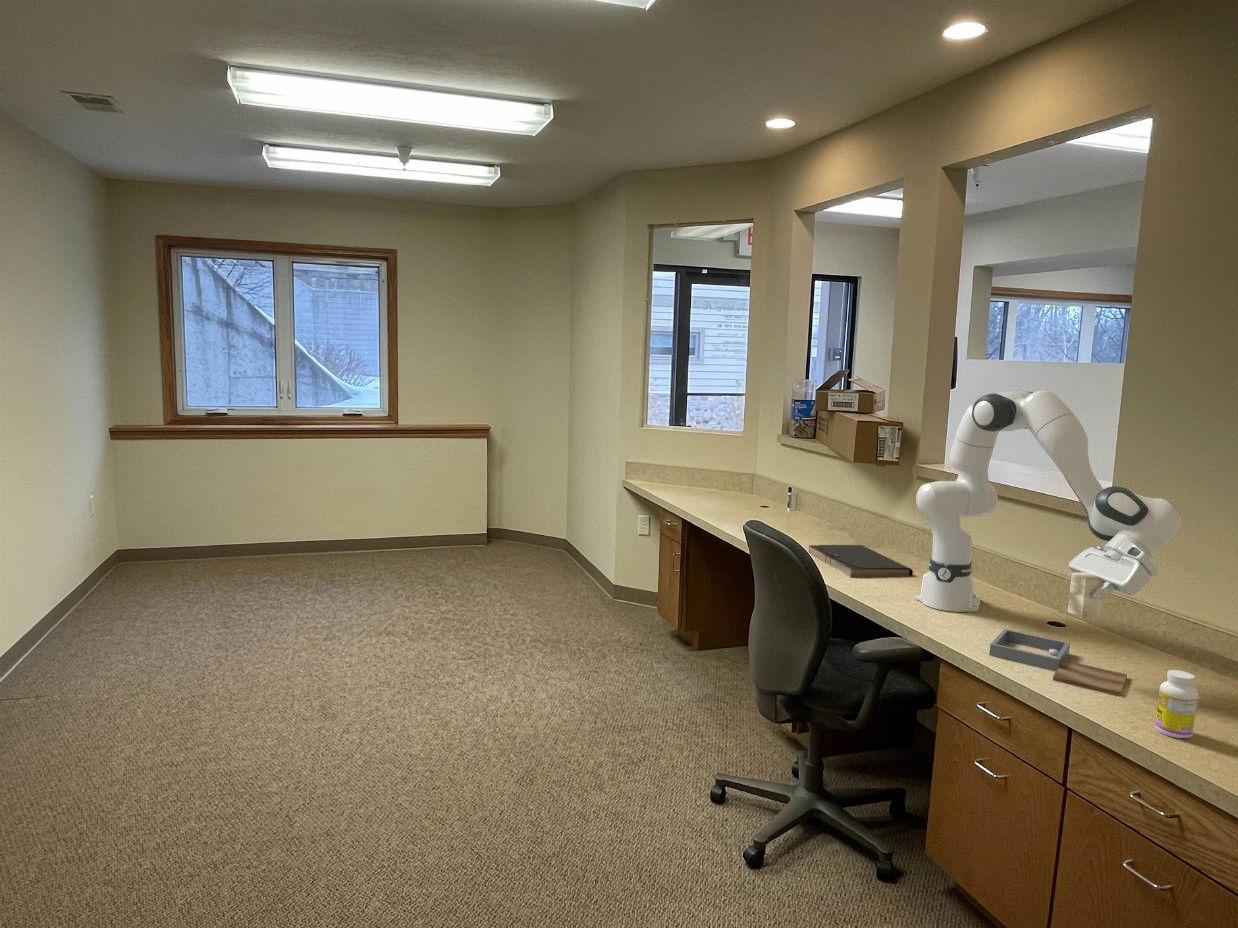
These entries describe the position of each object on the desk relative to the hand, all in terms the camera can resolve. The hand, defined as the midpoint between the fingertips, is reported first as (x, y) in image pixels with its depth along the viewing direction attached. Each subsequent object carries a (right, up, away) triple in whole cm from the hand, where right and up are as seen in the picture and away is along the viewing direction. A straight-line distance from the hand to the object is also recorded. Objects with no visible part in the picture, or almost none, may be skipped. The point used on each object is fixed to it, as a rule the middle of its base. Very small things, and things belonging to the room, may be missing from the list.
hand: (1083, 593), depth 200 cm
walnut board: (+1, -21, 0) cm, 21 cm away
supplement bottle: (+3, -25, -27) cm, 37 cm away
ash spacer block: (0, -5, +1) cm, 5 cm away
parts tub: (-6, -18, +15) cm, 24 cm away
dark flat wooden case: (-26, -6, +101) cm, 105 cm away
